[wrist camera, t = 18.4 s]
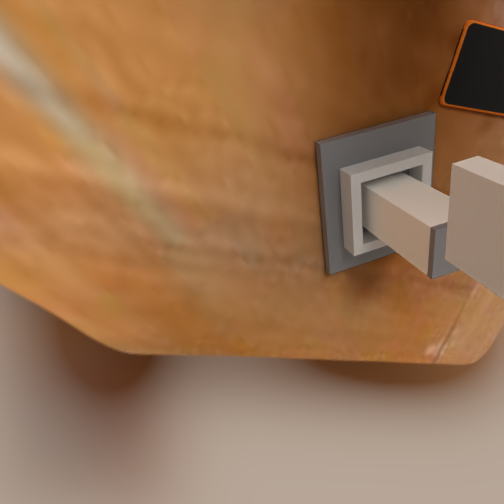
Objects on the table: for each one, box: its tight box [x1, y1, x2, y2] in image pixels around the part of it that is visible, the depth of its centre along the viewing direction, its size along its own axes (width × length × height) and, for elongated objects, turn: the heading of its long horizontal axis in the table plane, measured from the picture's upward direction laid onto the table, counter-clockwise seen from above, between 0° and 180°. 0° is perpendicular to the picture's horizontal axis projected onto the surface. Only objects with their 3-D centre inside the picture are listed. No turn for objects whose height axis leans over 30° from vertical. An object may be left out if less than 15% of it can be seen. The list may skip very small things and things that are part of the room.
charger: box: [361, 172, 460, 279], centre depth 41 cm, size 4×4×11 cm
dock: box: [315, 111, 436, 275], centre depth 45 cm, size 14×12×3 cm
